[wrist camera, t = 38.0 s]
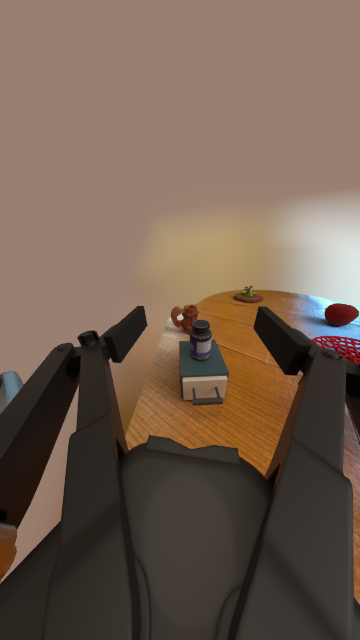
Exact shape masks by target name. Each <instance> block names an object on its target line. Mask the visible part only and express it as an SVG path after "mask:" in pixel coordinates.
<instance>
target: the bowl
mask: <svg viewBox="0 0 360 640" xmlns="http://www.w3.org/2000/svg"><path fill="white" fill-rule="evenodd" d="M319 338H320V339H321V341H319V340H317V339H319ZM322 338H325V339H326V341H325V340H323V339H322ZM327 338H329V339H330V340H328V339H327ZM333 338H335V339H333ZM336 339H337V340H339V341H336ZM341 339H345V341H342V340H341ZM347 339H348V340H351V342H348V341H347ZM315 340H316V342H320V343H321V344H322V346H319V347H320V348H323V349H329V348H334V349H335V350H336V352H337V353H339V354H342V355H343V357H344V358H345V359H348V360H349V361H352V362H357V363H360V352H358V351H357V349H360V347H355V345H360V343H356V342H354V341H357V342H360V340H357V339H352V338H347V337H339V336H320V337H316V338H314V339H312V341H314V343H315V344H317V343H316V342H315ZM322 341H323V342H325V343H322ZM326 342H330V343H332V344H333V346H329V345H327V344H326ZM334 342H336V343H334ZM340 342H343V343H345V345H343V344H340ZM348 343H349V344H351V345H353V346H348ZM317 345H318V344H317ZM323 345H325V346H327V347H328V348H325V347H323ZM335 345H338V346H335ZM341 346H342V347H346V348H347V349H344V348H342V347H341ZM337 348H339V349H341V350H343V351H344V352H343V351H340V350H338V349H337ZM350 348H351V349H354V350H351V349H350ZM352 353H355V355H353V354H352ZM347 354H348V355H347Z"/></svg>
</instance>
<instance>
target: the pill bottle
mask: <svg viewBox="0 0 360 640" xmlns="http://www.w3.org/2000/svg"><path fill="white" fill-rule="evenodd" d="M192 328H193V329H192V330H191V331H190V354H191V357H192V358H194V359H195V360H198V361H204V360H207V359H208V358H209V357H210V350H211V337H212V333H211V331H210V330H209V328H210V324H209V322H208V321H205V320H196V321H194V322H193V323H192Z"/></svg>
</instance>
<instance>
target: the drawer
mask: <svg viewBox="0 0 360 640" xmlns="http://www.w3.org/2000/svg"><path fill="white" fill-rule="evenodd" d="M227 380H228V379H227V376H201V377H185V378H182V381H183V397H184V400H193V405H212V404H223V401H222V398H225V393H226V386H227Z"/></svg>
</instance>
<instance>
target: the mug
mask: <svg viewBox="0 0 360 640" xmlns="http://www.w3.org/2000/svg"><path fill="white" fill-rule="evenodd" d="M181 313H182V315H183V316H184V317H183V318H184V319H183V320H181V321H179V320H177V316H178V315H180V314H181ZM198 313H199V312H198V311H197V306H195V305H186V306H184V308H179V307H174V308H173V310H172V312H171V319H172V321H173V324H174V325H175V326H177V327H178V328H179V327H181V326H182V328H183V331H184V332H186V333H190V331H191V330H192V329H193V328H192V323H193V322H194V321H196V320H197V316H198Z"/></svg>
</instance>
